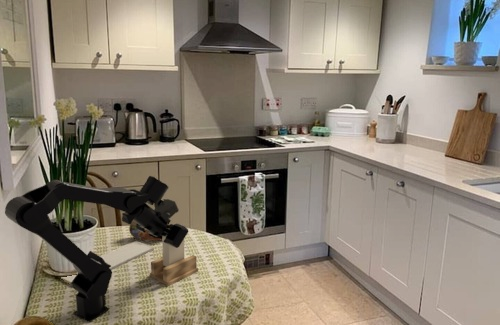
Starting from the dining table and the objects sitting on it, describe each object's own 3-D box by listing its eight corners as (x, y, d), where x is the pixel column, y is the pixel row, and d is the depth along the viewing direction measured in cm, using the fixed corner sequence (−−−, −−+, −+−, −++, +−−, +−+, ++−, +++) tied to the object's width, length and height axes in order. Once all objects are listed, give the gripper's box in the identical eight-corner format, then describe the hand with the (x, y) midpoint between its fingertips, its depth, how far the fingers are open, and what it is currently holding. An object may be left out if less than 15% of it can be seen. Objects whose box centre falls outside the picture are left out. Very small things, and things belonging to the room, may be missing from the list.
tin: (129, 239, 151) (128, 218, 149) (132, 236, 154) (131, 215, 152) (169, 241, 150) (168, 220, 149) (170, 237, 154) (170, 217, 152)
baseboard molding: (52, 276, 124) (75, 289, 118) (51, 268, 124) (74, 280, 117) (131, 242, 150) (154, 251, 143) (131, 235, 149) (153, 243, 142)
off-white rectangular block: (169, 268, 123) (168, 238, 120) (162, 265, 125) (162, 235, 122) (184, 261, 127) (184, 232, 125) (177, 258, 129) (177, 229, 127)
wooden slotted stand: (168, 286, 119) (167, 270, 118) (150, 275, 125) (149, 261, 124) (197, 271, 128) (197, 257, 127) (179, 262, 134) (179, 248, 133)
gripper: (182, 201, 112) (210, 227, 122) (143, 187, 123) (171, 212, 134) (160, 235, 108) (191, 259, 118) (121, 218, 119) (153, 241, 130)
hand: (176, 241), depth 125 cm, fingers closed on off-white rectangular block, 3 cm apart
